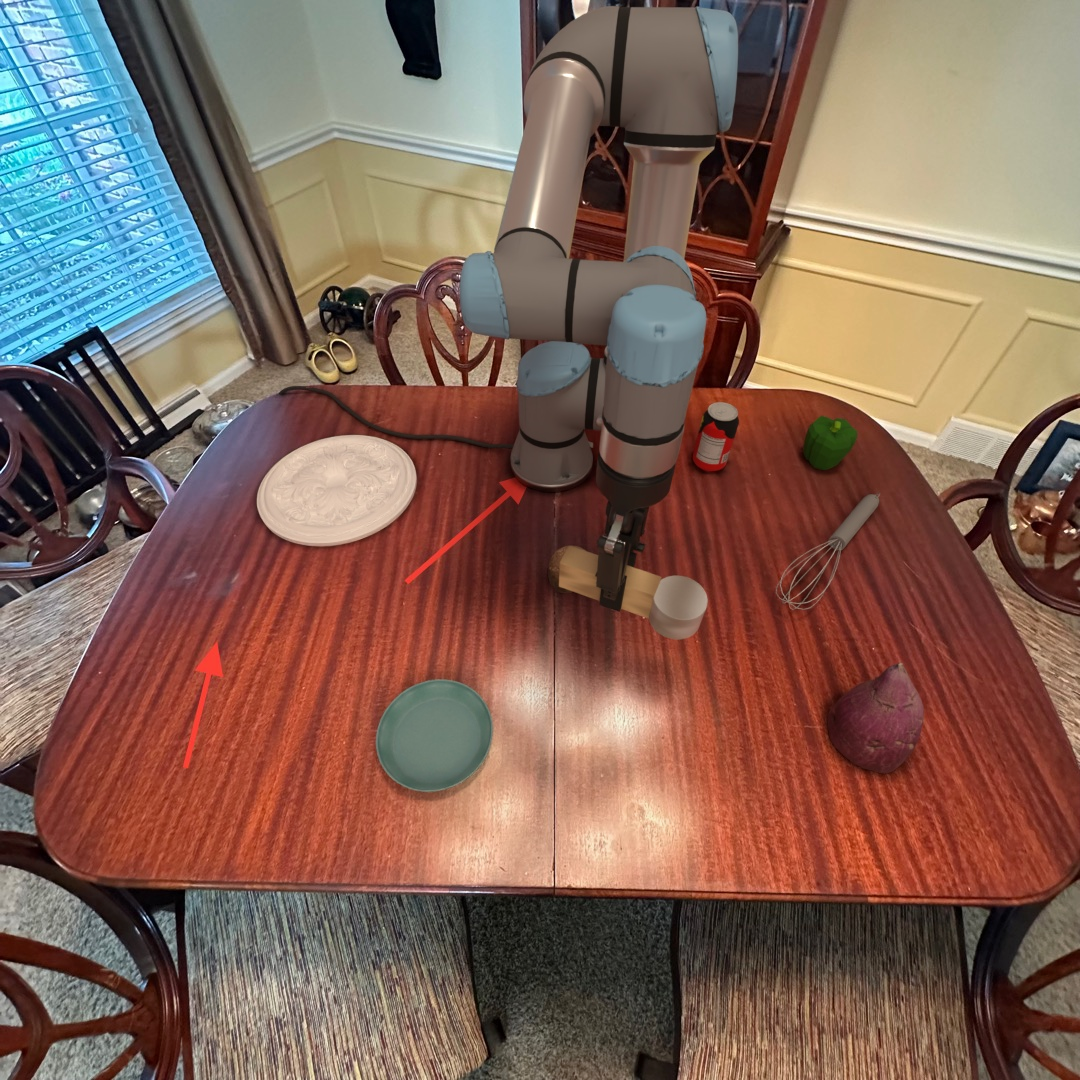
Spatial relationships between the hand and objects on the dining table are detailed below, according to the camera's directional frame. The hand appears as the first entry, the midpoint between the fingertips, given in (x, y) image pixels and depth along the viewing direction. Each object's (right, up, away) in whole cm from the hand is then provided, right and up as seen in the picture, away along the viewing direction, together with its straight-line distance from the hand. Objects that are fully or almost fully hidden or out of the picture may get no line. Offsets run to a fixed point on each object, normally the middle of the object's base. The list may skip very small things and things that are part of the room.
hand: (615, 594), depth 76 cm
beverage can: (+22, +21, +37) cm, 48 cm away
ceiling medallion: (-46, +16, +33) cm, 59 cm away
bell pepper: (+43, +22, +38) cm, 61 cm away
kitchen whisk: (+38, +5, +23) cm, 44 cm away
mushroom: (-5, +1, +19) cm, 20 cm away
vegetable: (+33, -18, +3) cm, 38 cm away
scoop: (+2, -1, 0) cm, 2 cm away
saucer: (-23, -19, +2) cm, 30 cm away
